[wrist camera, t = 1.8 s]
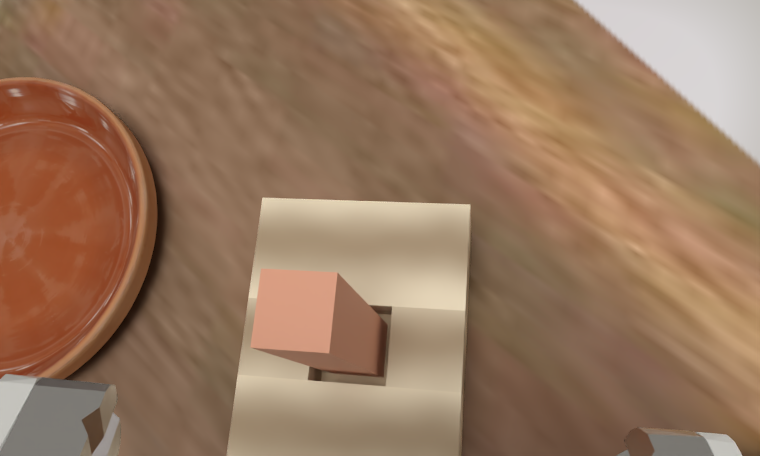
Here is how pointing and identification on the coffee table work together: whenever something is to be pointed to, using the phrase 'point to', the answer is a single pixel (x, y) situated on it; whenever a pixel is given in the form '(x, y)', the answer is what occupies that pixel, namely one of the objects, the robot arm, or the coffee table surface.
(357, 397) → the cream block with hole
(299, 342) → the wooden block
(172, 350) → the coffee table surface
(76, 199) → the saucer
